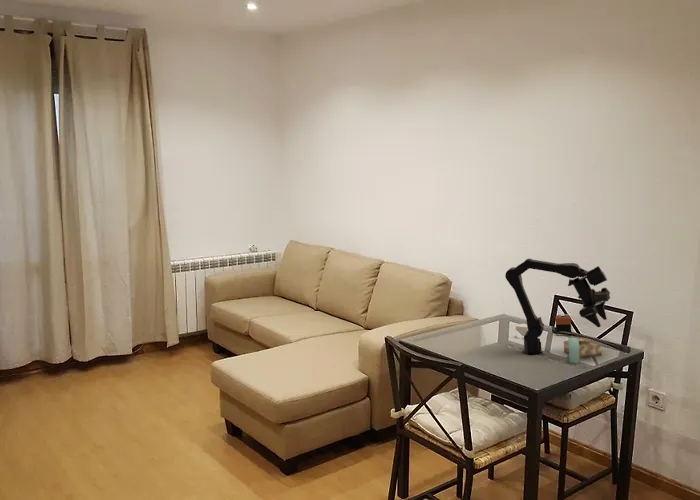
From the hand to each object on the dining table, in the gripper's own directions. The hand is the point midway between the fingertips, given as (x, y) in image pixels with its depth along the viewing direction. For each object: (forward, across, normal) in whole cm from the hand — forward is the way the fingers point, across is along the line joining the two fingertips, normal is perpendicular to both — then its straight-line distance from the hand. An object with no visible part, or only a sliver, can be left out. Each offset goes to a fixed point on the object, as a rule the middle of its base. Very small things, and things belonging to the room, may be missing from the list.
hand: (602, 323), depth 259 cm
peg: (+8, -15, +13) cm, 21 cm away
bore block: (+9, -2, +14) cm, 16 cm away
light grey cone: (-3, +15, +44) cm, 47 cm away
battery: (+5, +26, +31) cm, 40 cm away
